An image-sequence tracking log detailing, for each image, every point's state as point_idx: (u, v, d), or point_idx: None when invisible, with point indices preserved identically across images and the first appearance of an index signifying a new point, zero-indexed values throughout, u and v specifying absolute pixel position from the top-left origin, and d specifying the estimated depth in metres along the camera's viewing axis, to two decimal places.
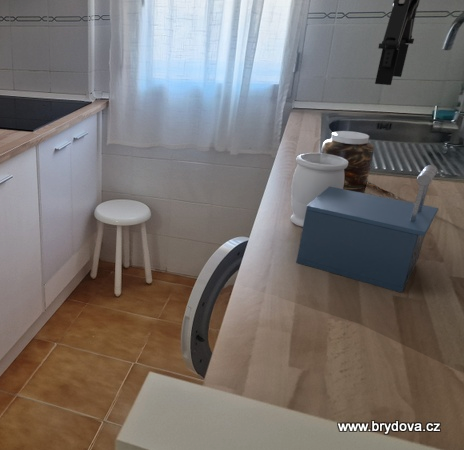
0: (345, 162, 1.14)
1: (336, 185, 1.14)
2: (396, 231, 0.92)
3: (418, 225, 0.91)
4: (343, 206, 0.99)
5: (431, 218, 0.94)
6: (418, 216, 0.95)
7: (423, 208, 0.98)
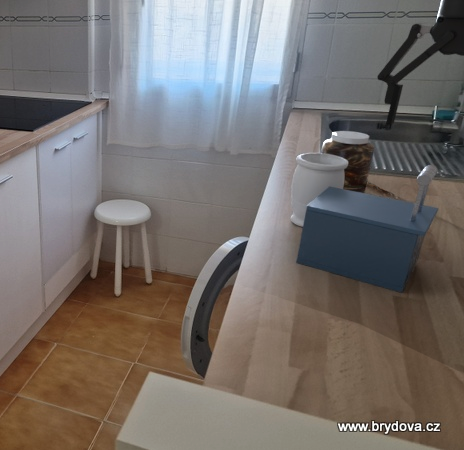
0: (345, 162, 1.14)
1: (336, 185, 1.14)
2: (396, 231, 0.92)
3: (418, 225, 0.91)
4: (343, 206, 0.99)
5: (431, 218, 0.94)
6: (418, 216, 0.95)
7: (423, 208, 0.98)
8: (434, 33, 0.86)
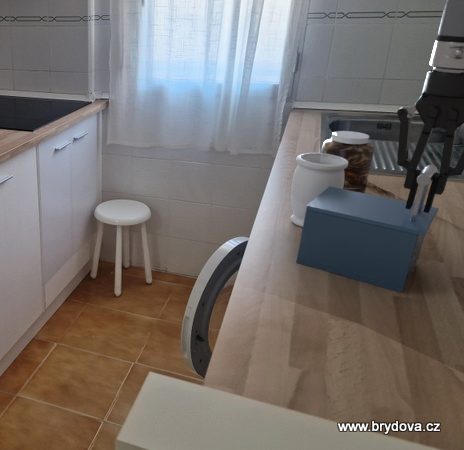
0: (345, 162, 1.14)
1: (336, 185, 1.14)
2: (396, 231, 0.92)
3: (418, 225, 0.91)
4: (343, 206, 0.99)
5: (431, 218, 0.94)
6: (418, 216, 0.95)
7: (423, 208, 0.98)
8: (421, 108, 0.89)
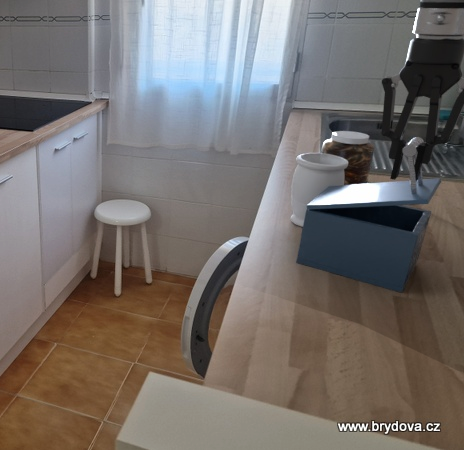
0: (345, 162, 1.14)
1: (336, 185, 1.14)
2: (396, 231, 0.92)
3: (420, 195, 0.90)
4: (343, 198, 0.99)
5: (433, 187, 0.92)
6: (420, 189, 0.93)
7: (425, 181, 0.97)
8: (405, 77, 0.89)
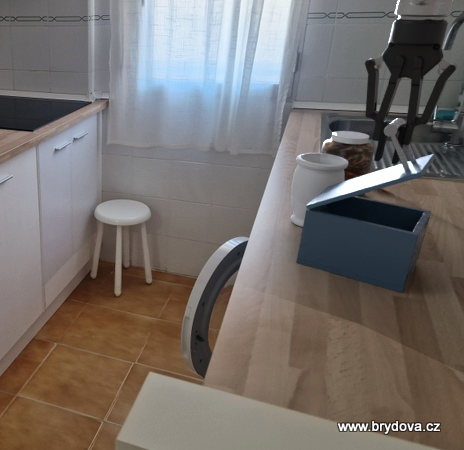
0: (345, 162, 1.14)
1: None
2: (396, 231, 0.92)
3: (413, 171, 0.89)
4: (340, 191, 0.99)
5: (426, 162, 0.92)
6: (413, 166, 0.93)
7: (419, 160, 0.96)
8: (388, 58, 0.90)
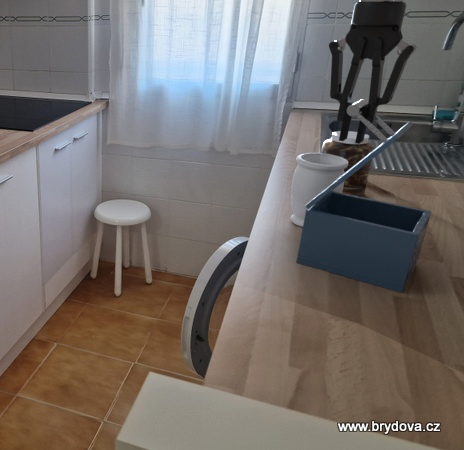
0: (345, 162, 1.14)
1: None
2: (396, 231, 0.92)
3: None
4: None
5: (402, 128, 0.93)
6: (391, 136, 0.94)
7: (397, 131, 0.97)
8: (350, 40, 0.92)
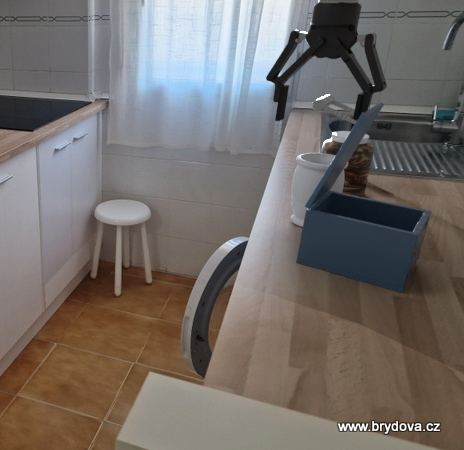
0: None
1: (336, 185, 1.14)
2: (396, 231, 0.92)
3: None
4: None
5: (371, 108, 0.95)
6: None
7: None
8: (308, 39, 0.96)
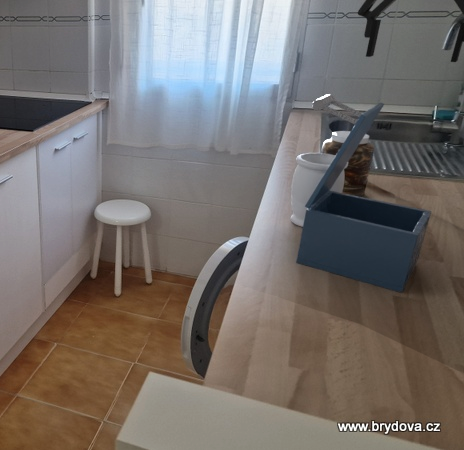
0: None
1: (336, 185, 1.14)
2: (396, 231, 0.92)
3: None
4: None
5: (371, 108, 0.95)
6: None
7: None
8: None
